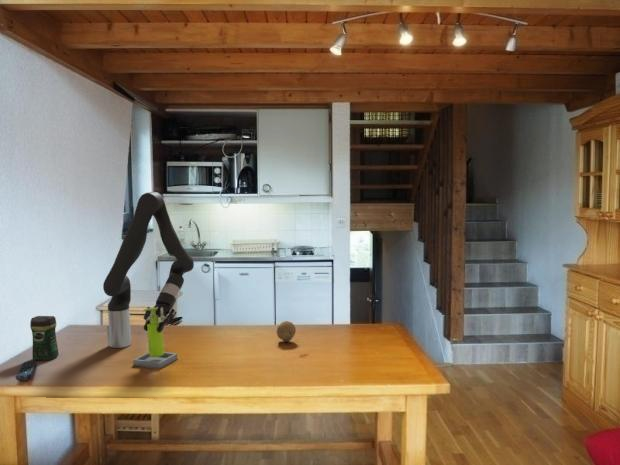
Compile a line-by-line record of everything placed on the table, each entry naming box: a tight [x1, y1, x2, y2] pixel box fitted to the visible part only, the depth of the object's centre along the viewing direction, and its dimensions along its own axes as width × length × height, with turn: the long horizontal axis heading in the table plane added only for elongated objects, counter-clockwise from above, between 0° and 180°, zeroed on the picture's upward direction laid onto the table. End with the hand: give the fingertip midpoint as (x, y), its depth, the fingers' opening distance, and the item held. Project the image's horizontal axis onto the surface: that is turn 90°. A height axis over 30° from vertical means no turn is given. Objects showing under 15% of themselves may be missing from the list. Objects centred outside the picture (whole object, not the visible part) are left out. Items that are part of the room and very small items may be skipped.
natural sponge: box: [276, 320, 297, 343], centre depth 225 cm, size 9×9×10 cm
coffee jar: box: [29, 315, 59, 361], centre depth 208 cm, size 10×8×19 cm
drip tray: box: [132, 351, 178, 370], centre depth 202 cm, size 13×12×2 cm
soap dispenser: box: [143, 307, 165, 357], centre depth 201 cm, size 6×7×20 cm
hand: (151, 330), depth 199 cm, fingers closed on soap dispenser, 6 cm apart
